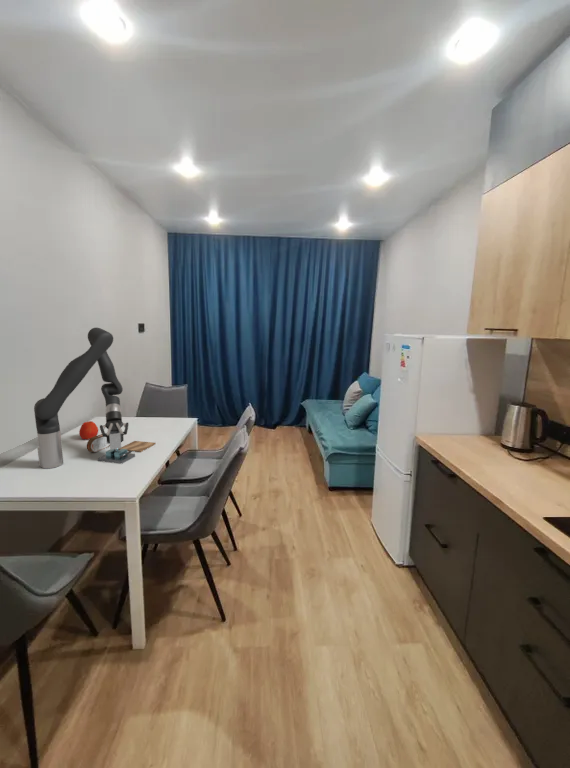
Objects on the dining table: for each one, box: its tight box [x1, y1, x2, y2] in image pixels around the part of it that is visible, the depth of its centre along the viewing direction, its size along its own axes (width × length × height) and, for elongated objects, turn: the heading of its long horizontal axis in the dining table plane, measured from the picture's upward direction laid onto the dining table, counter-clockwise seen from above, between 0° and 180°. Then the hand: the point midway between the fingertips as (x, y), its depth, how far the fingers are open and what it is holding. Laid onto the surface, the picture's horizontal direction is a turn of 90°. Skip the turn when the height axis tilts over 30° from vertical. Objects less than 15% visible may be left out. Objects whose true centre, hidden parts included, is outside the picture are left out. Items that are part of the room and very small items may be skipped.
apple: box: [78, 420, 99, 440], centre depth 213 cm, size 10×10×10 cm
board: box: [119, 440, 156, 453], centre depth 198 cm, size 14×14×1 cm
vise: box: [97, 449, 136, 464], centre depth 180 cm, size 14×10×11 cm
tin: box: [86, 433, 110, 453], centre depth 193 cm, size 15×3×8 cm, turn 160°
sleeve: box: [109, 431, 122, 450], centre depth 179 cm, size 5×5×8 cm
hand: (115, 442), depth 177 cm, fingers closed on sleeve, 5 cm apart
